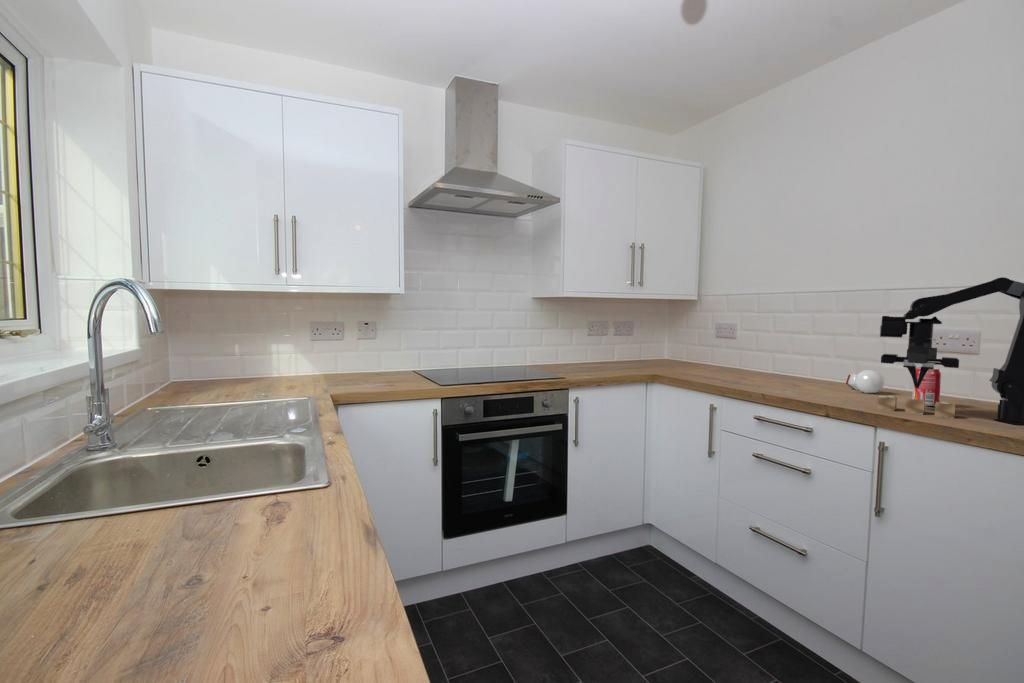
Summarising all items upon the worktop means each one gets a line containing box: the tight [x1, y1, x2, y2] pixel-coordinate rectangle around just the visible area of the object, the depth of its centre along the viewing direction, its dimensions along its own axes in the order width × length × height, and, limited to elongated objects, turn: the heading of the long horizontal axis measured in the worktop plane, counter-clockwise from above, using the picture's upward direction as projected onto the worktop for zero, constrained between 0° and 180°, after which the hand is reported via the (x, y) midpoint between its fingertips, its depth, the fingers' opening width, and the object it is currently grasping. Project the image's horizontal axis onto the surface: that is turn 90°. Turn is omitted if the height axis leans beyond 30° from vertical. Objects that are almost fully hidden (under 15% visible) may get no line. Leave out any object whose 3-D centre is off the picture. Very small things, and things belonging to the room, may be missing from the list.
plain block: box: [904, 398, 926, 414], centre depth 156 cm, size 4×4×4 cm
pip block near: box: [934, 401, 956, 419], centre depth 152 cm, size 4×4×4 cm
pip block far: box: [877, 395, 898, 411], centre depth 161 cm, size 4×4×4 cm
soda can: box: [911, 366, 942, 406], centre depth 169 cm, size 7×7×13 cm
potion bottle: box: [845, 369, 885, 394], centre depth 198 cm, size 9×10×15 cm
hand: (917, 388), depth 156 cm, fingers closed
